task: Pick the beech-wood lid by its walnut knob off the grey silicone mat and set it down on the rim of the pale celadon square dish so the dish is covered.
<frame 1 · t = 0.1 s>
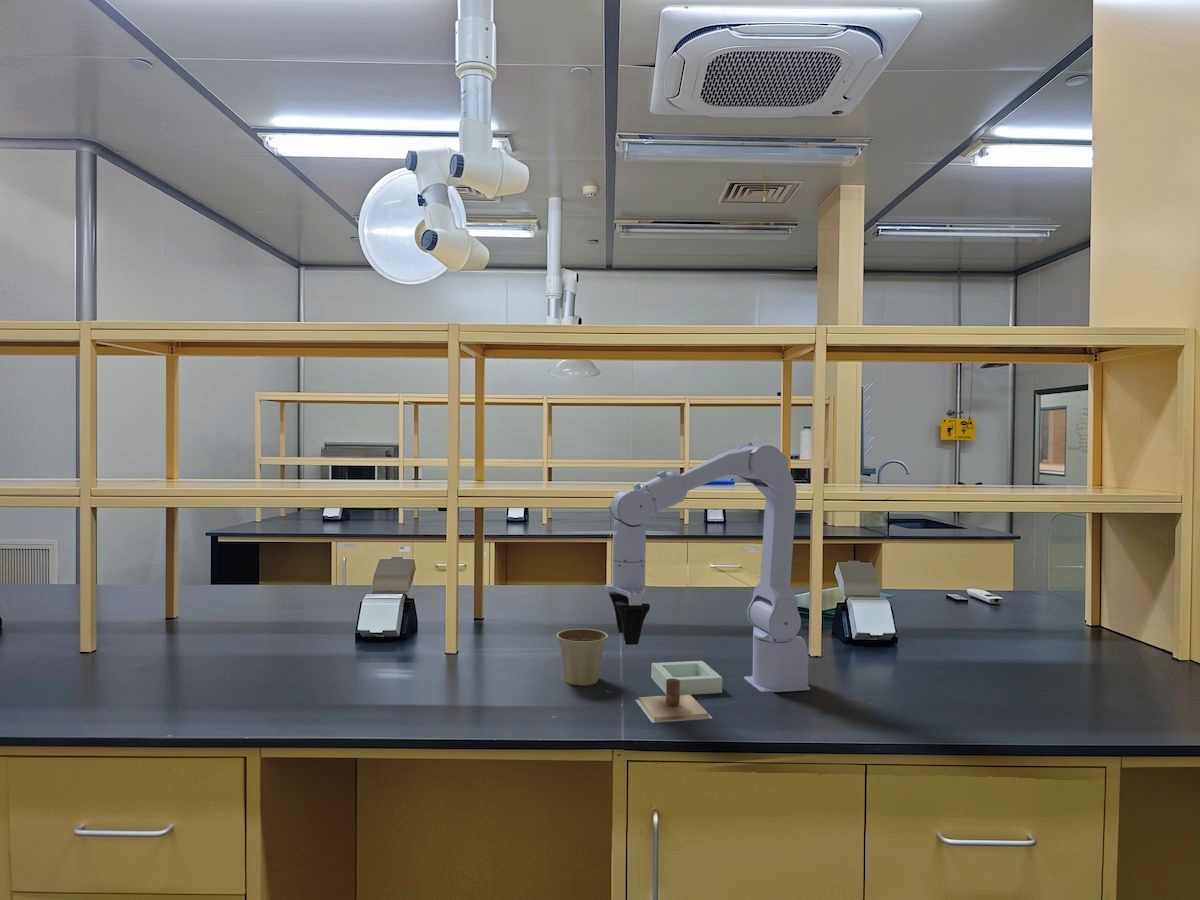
hand: (627, 638, 123), 10 cm above the lab bench, fingers open, 7 cm apart
lid: (672, 708, 116), resting on mat
mat: (672, 711, 116), on the lab bench
flower pot: (581, 682, 130), on the lab bench
dish: (685, 688, 128), on the lab bench
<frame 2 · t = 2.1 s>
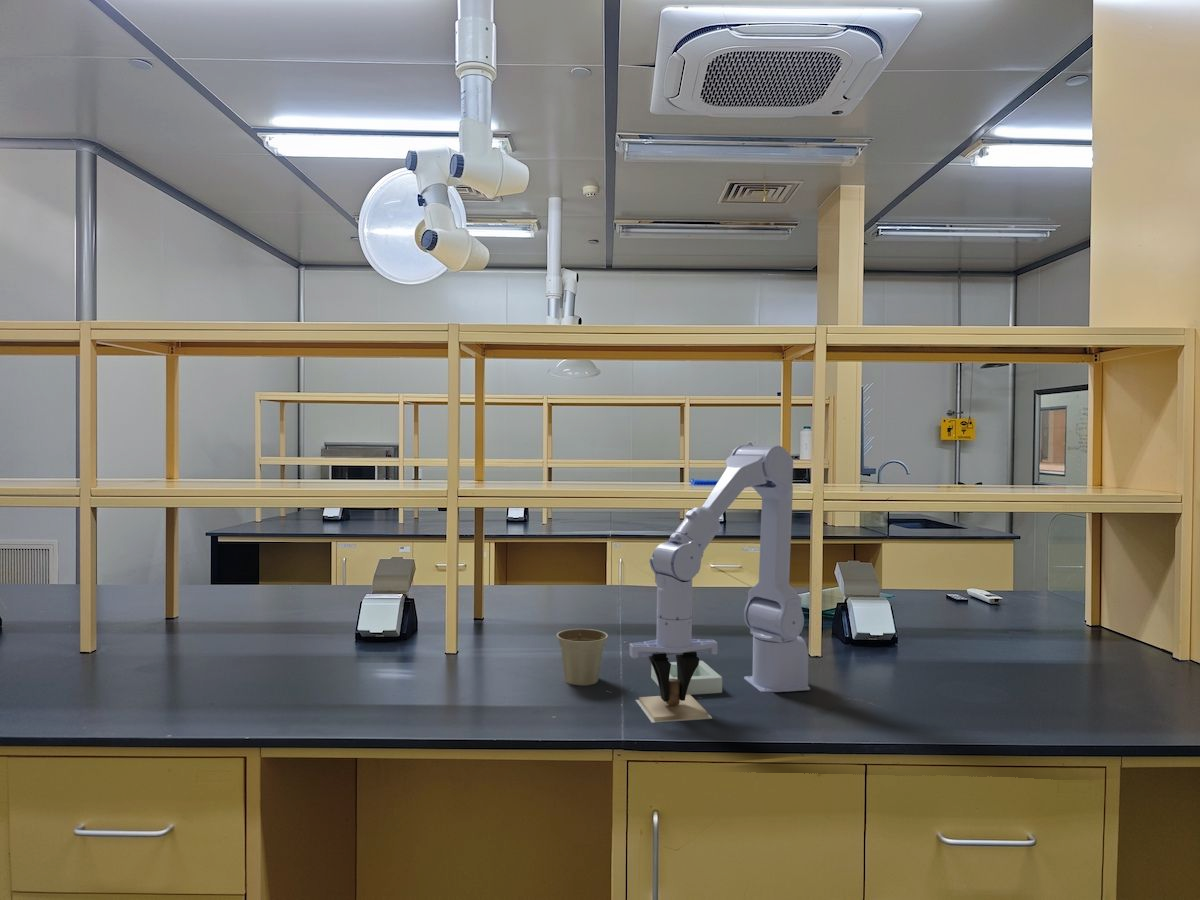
hand: (672, 699, 116), 2 cm above the lab bench, fingers closed on lid, 2 cm apart
lid: (672, 708, 116), resting on mat, touching gripper
everything else where it was.
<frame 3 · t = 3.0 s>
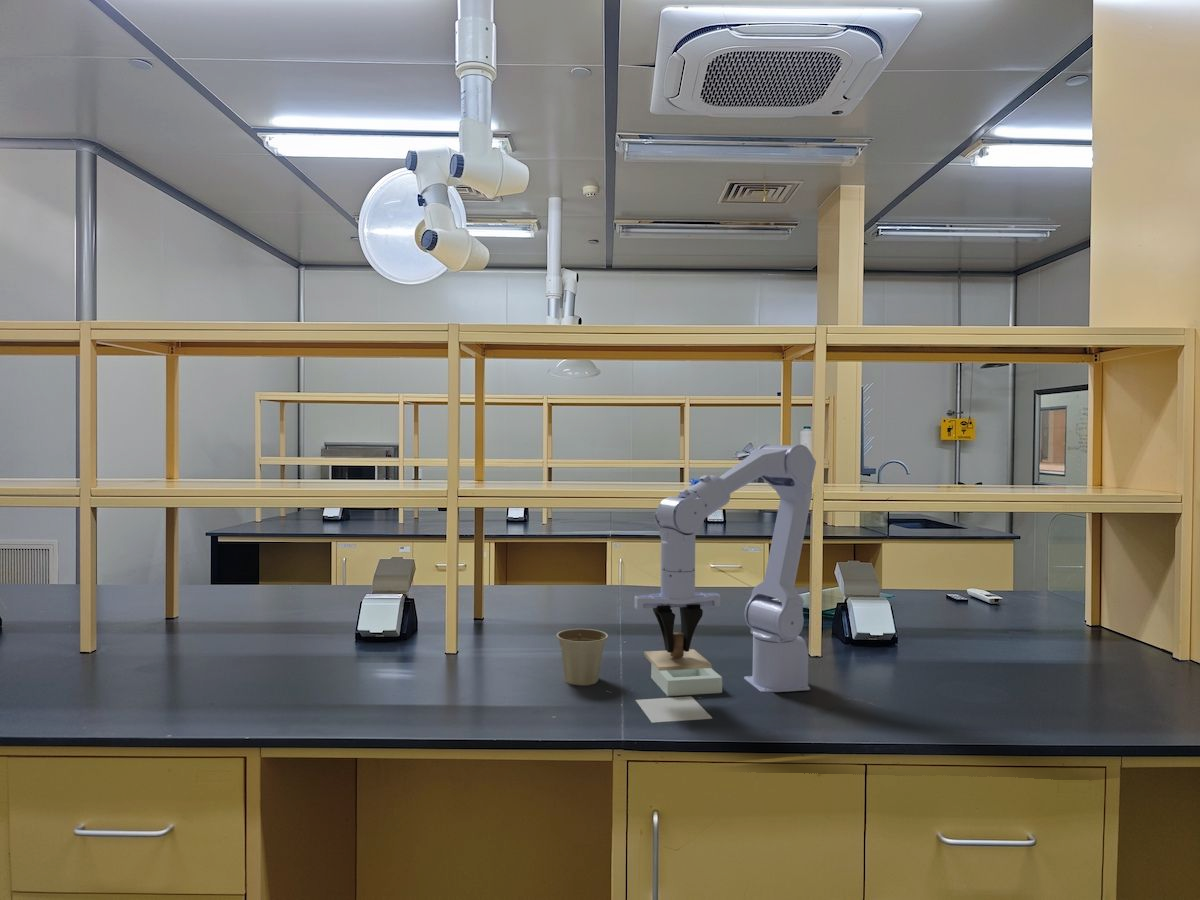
hand: (677, 650, 119), 9 cm above the lab bench, fingers closed on lid, 2 cm apart
lid: (676, 661, 119), point 7 cm above the lab bench, touching gripper
everything else where it was.
when the fingers open (6 cm above the lab bench, at t = 4.3 s): lid drops 1 cm, resting on dish.
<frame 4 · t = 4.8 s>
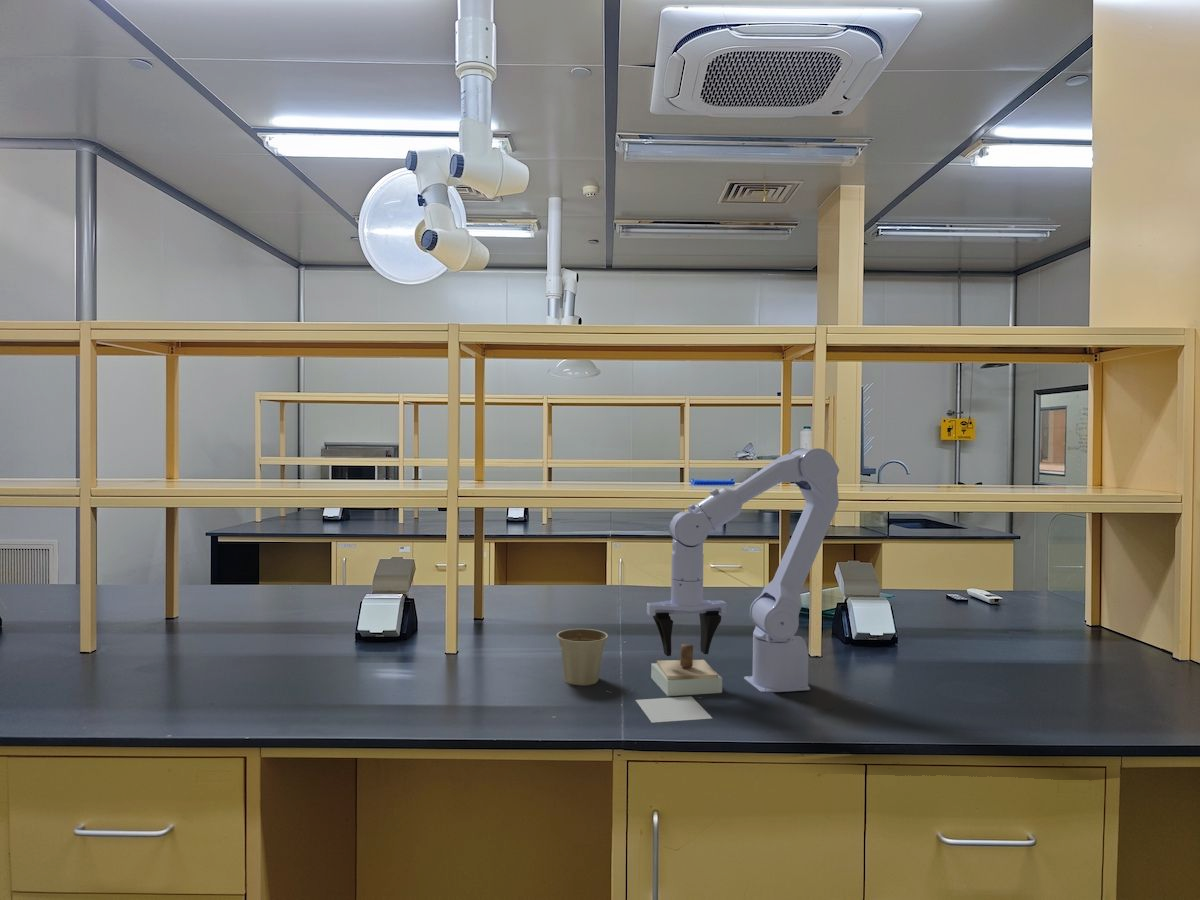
hand: (686, 653, 128), 6 cm above the lab bench, fingers open, 6 cm apart
lid: (686, 670, 128), point 3 cm above the lab bench, touching dish
dish: (685, 689, 128), on the lab bench, touching lid
everything else where it was.
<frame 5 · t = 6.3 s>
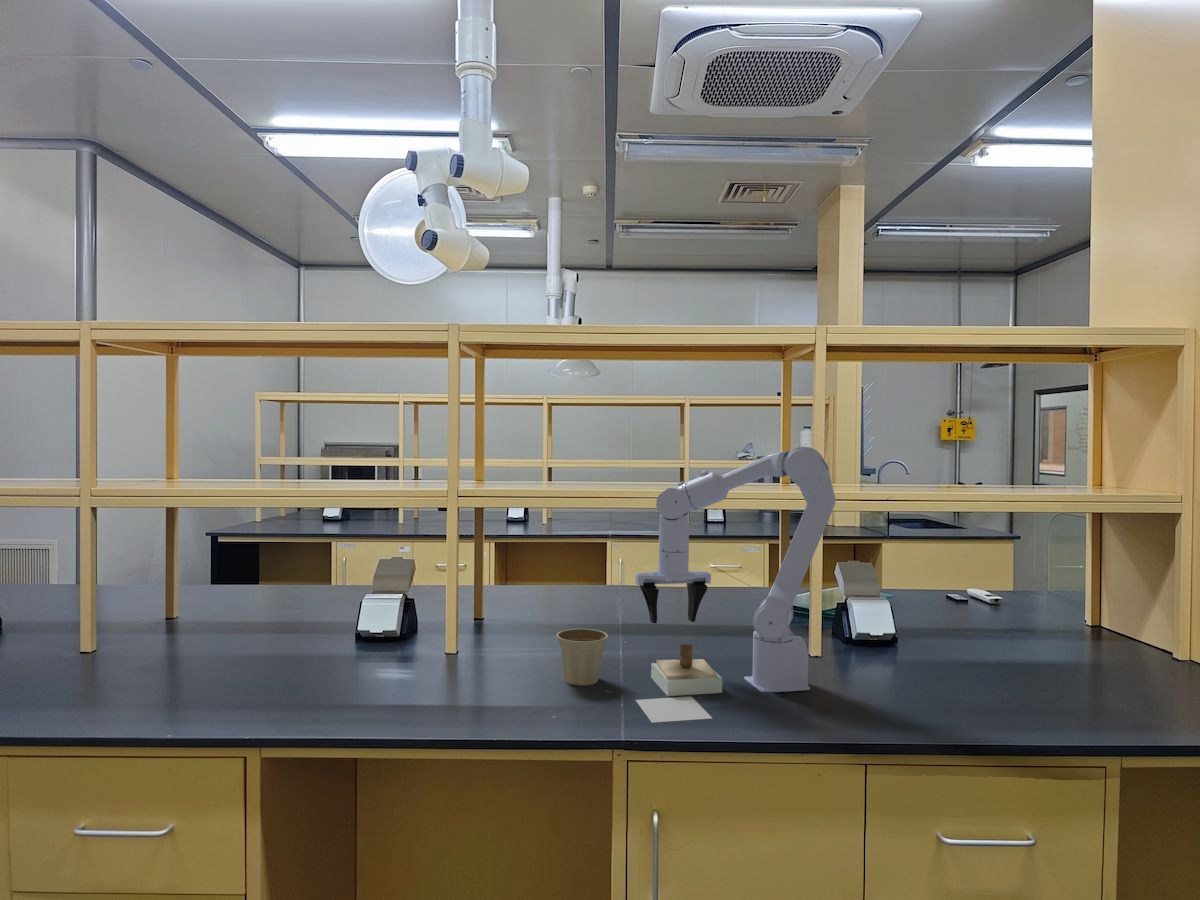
hand: (672, 621, 136), 10 cm above the lab bench, fingers open, 7 cm apart
nothing on the lab bench moved.
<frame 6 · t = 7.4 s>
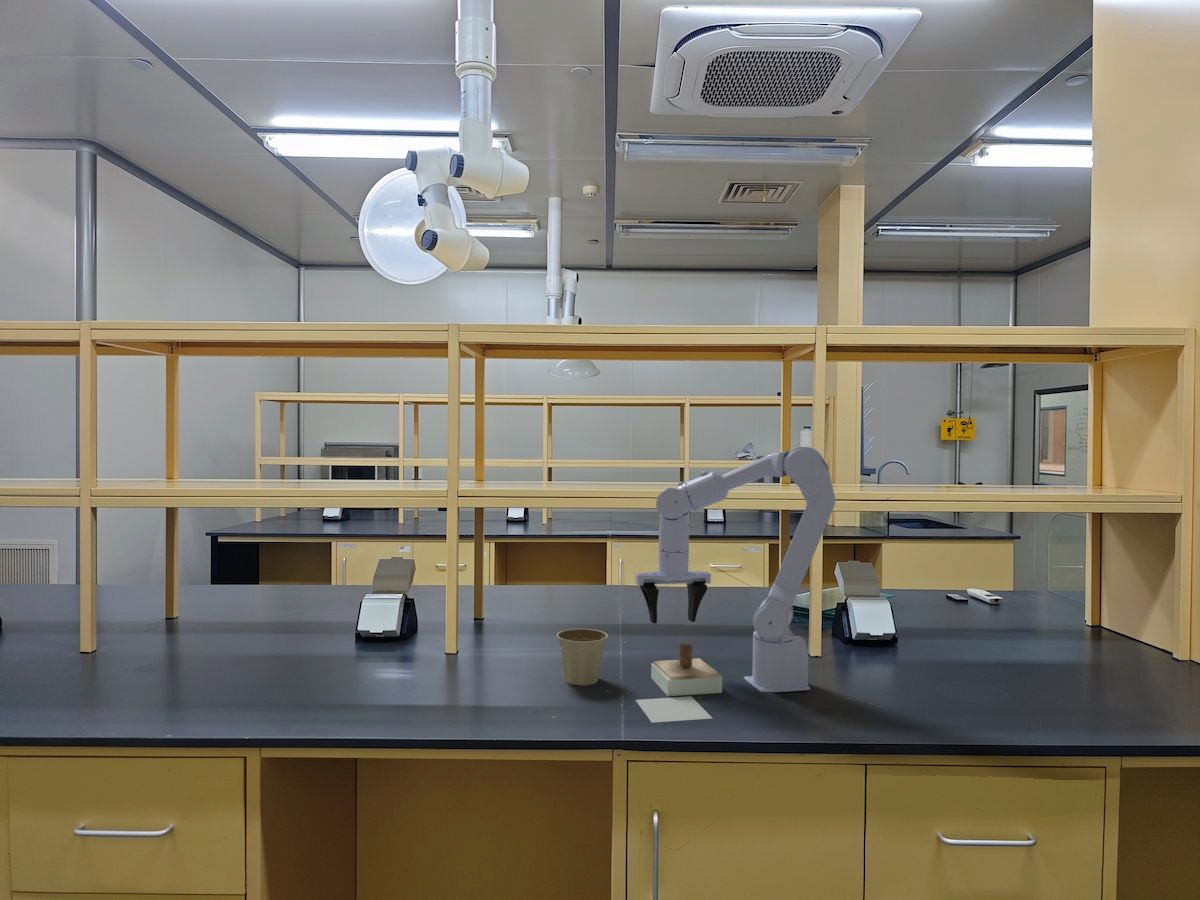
hand: (672, 621, 136), 10 cm above the lab bench, fingers open, 7 cm apart
nothing on the lab bench moved.
at the end: lid 0.1 cm off-centre on the dish, point 3.4 cm above the dish's base; lid tilted 0°; the gripper is holding nothing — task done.
